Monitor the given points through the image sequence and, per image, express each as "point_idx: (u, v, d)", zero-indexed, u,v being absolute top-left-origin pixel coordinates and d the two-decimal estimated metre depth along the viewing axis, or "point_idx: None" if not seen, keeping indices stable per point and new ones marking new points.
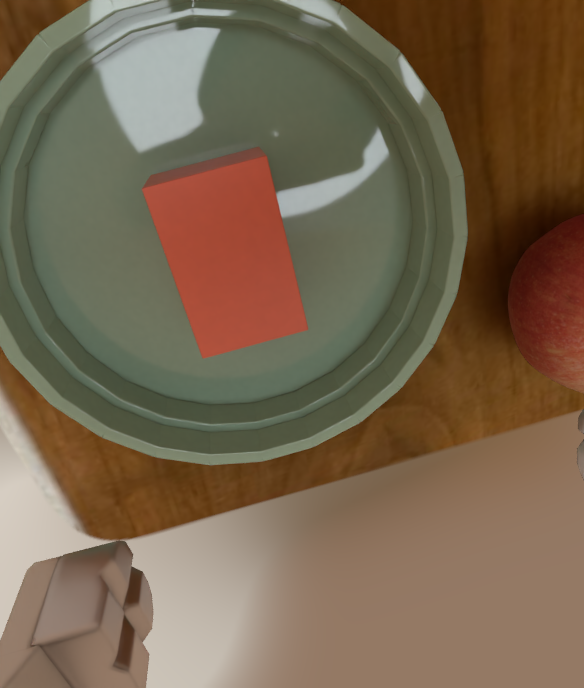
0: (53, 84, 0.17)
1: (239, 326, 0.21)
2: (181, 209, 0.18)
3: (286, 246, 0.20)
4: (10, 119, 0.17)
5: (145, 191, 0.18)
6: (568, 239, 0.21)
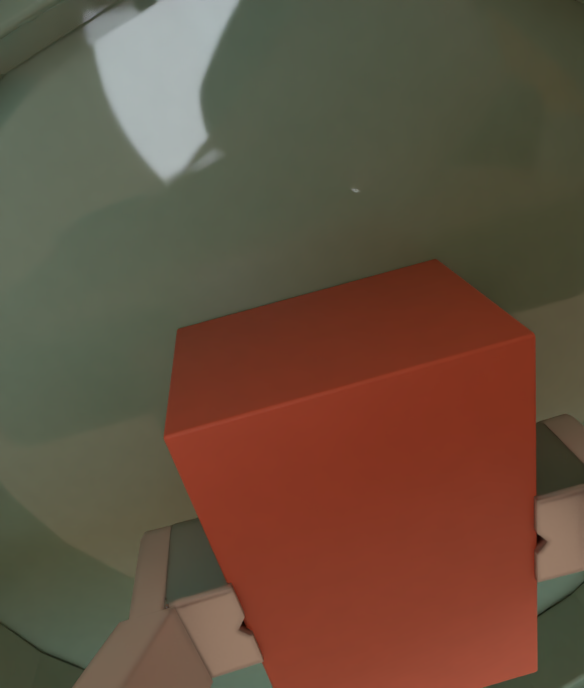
0: None
1: (387, 683, 0.09)
2: (276, 478, 0.06)
3: (532, 532, 0.08)
4: None
5: (174, 443, 0.06)
6: None
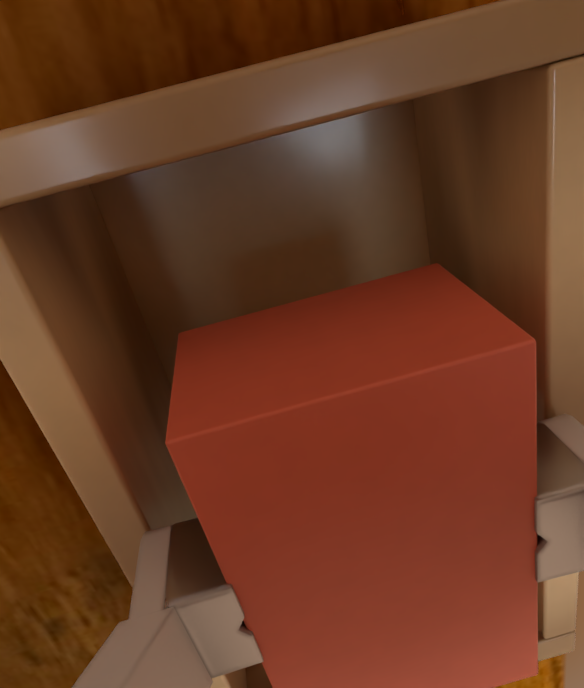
0: None
1: (387, 686, 0.09)
2: (277, 483, 0.06)
3: (532, 536, 0.08)
4: None
5: (176, 449, 0.06)
6: None
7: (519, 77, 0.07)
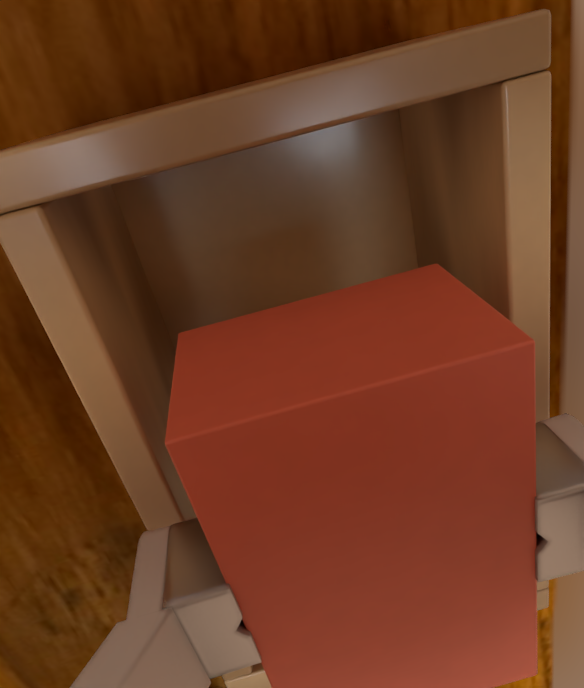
0: None
1: (387, 685, 0.09)
2: (277, 484, 0.06)
3: (532, 536, 0.08)
4: None
5: (175, 449, 0.06)
6: None
7: (480, 92, 0.08)
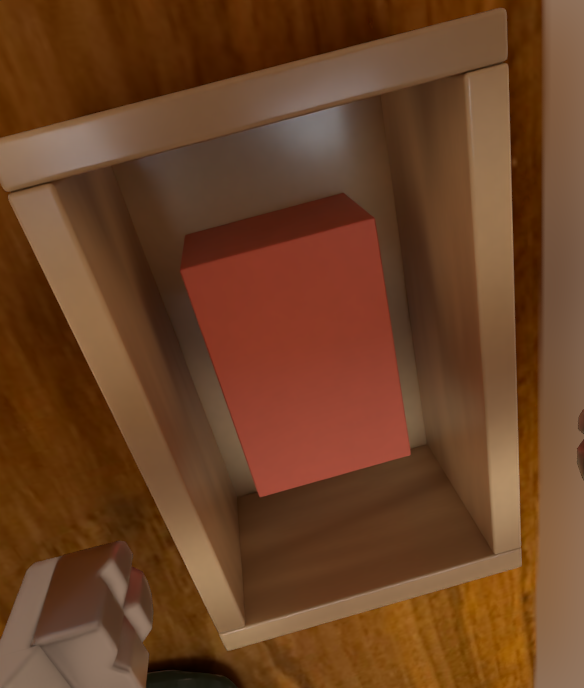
0: None
1: (313, 454, 0.14)
2: (240, 299, 0.12)
3: (391, 346, 0.13)
4: None
5: (185, 274, 0.11)
6: None
7: (447, 82, 0.09)
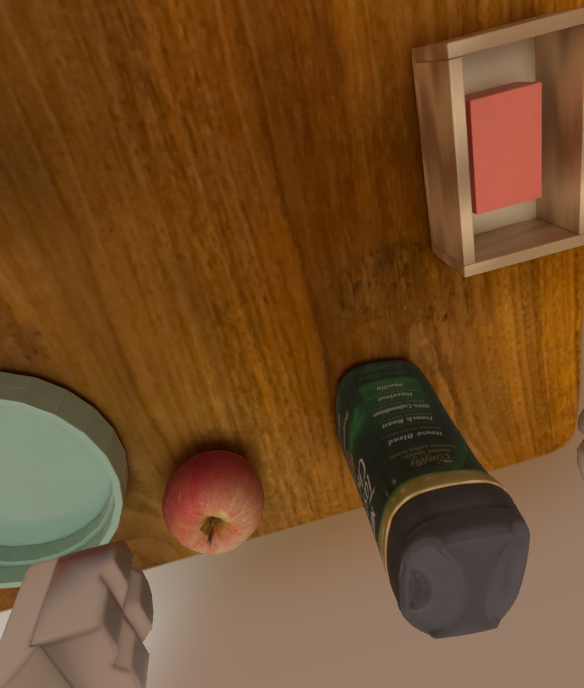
0: None
1: (502, 192, 0.34)
2: (488, 114, 0.31)
3: (540, 140, 0.33)
4: None
5: (471, 102, 0.31)
6: (178, 477, 0.40)
7: (578, 27, 0.29)
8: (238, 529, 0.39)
